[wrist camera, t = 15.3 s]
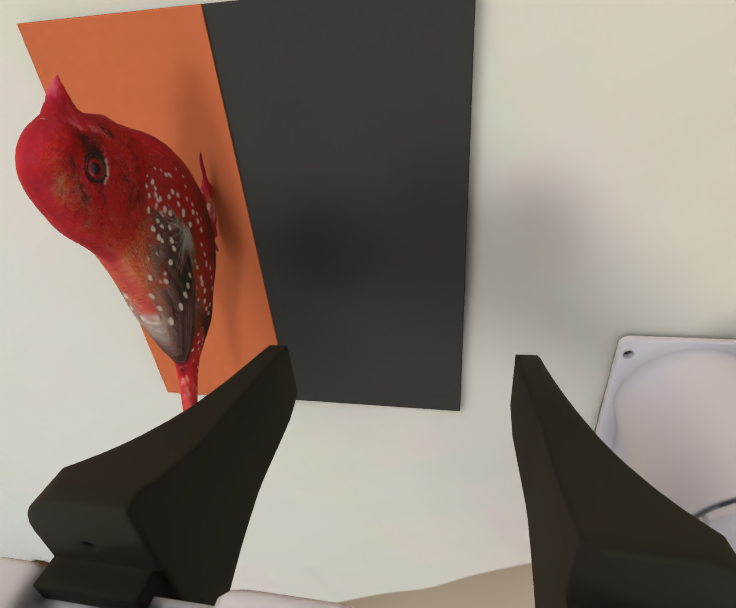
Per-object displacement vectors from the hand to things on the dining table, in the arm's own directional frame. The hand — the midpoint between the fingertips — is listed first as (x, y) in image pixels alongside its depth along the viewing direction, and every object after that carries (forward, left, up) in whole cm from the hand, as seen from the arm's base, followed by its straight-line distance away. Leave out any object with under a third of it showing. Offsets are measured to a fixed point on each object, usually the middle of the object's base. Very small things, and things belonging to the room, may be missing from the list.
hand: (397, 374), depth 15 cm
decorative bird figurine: (0, +11, -10) cm, 15 cm away
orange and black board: (0, +8, -10) cm, 13 cm away
